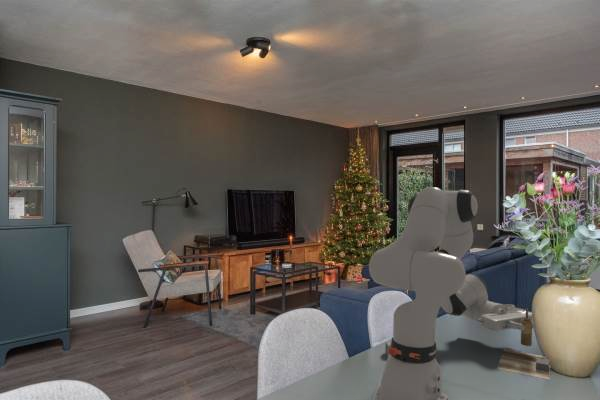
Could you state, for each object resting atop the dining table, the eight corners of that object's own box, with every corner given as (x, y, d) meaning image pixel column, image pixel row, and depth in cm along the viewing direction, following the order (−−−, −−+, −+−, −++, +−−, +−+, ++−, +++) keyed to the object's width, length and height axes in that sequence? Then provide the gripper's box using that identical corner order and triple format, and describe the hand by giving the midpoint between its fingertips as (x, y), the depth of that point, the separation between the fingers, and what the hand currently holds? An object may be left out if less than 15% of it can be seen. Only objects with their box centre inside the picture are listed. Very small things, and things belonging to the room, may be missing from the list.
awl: (531, 346, 138) (532, 310, 137) (520, 344, 139) (521, 308, 139) (531, 343, 140) (532, 307, 140) (521, 341, 142) (522, 306, 142)
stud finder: (549, 372, 129) (549, 364, 128) (535, 369, 130) (536, 361, 130) (549, 365, 134) (549, 357, 134) (536, 363, 135) (536, 355, 135)
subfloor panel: (549, 383, 123) (549, 379, 123) (496, 371, 131) (497, 368, 131) (550, 360, 140) (550, 357, 140) (504, 351, 148) (504, 348, 148)
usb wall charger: (385, 352, 145) (385, 341, 145) (405, 353, 145) (405, 341, 145) (388, 357, 141) (388, 345, 141) (408, 357, 141) (408, 345, 141)
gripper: (472, 309, 147) (506, 321, 135) (514, 304, 156) (550, 314, 143) (472, 327, 148) (506, 340, 135) (514, 321, 156) (549, 332, 143)
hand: (529, 327), depth 139 cm, fingers closed on awl, 3 cm apart
